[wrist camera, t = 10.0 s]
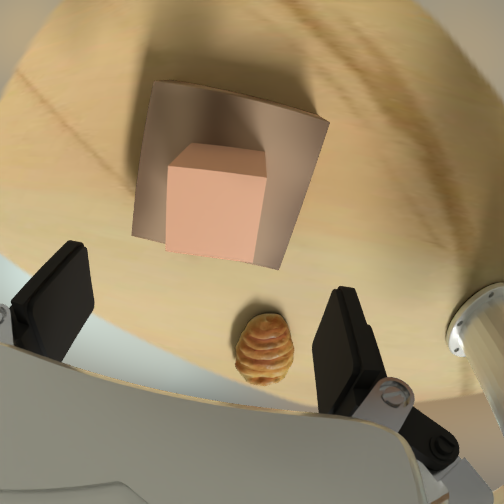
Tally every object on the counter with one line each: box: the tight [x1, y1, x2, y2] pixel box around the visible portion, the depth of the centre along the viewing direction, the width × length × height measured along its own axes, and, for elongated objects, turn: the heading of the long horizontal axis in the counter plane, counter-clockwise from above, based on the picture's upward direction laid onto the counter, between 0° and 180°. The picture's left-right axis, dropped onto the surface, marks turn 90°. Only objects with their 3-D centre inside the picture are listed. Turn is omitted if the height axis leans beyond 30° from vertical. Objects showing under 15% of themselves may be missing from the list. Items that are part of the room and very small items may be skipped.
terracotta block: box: [166, 143, 267, 263], centre depth 19 cm, size 5×5×6 cm
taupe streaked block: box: [132, 80, 330, 270], centre depth 24 cm, size 12×12×5 cm
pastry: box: [235, 314, 294, 386], centre depth 35 cm, size 9×7×4 cm
